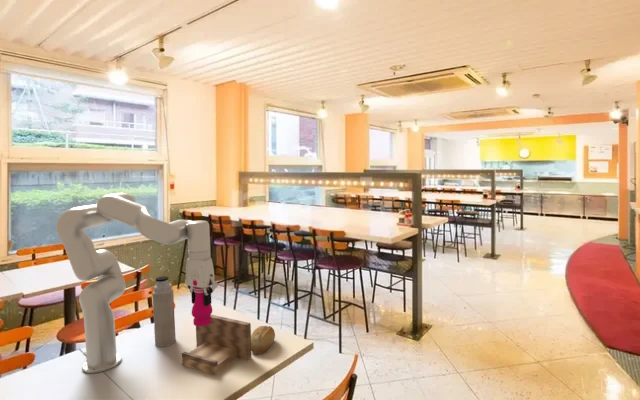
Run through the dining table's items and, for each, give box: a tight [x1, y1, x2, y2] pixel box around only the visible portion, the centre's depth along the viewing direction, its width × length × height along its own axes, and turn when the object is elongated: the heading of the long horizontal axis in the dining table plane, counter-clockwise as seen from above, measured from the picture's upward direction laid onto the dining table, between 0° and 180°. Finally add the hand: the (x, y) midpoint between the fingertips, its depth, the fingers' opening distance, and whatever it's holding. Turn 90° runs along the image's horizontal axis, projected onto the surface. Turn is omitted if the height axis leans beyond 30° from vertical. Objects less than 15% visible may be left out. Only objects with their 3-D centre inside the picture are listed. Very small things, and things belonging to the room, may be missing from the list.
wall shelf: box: [181, 314, 252, 376], centre depth 135 cm, size 26×14×14 cm, turn 65°
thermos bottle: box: [152, 275, 177, 348], centre depth 148 cm, size 8×8×28 cm
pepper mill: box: [191, 280, 213, 327], centre depth 129 cm, size 7×7×20 cm
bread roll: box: [251, 325, 276, 355], centre depth 145 cm, size 10×15×8 cm, turn 172°
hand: (201, 303), depth 129 cm, fingers closed on pepper mill, 5 cm apart
